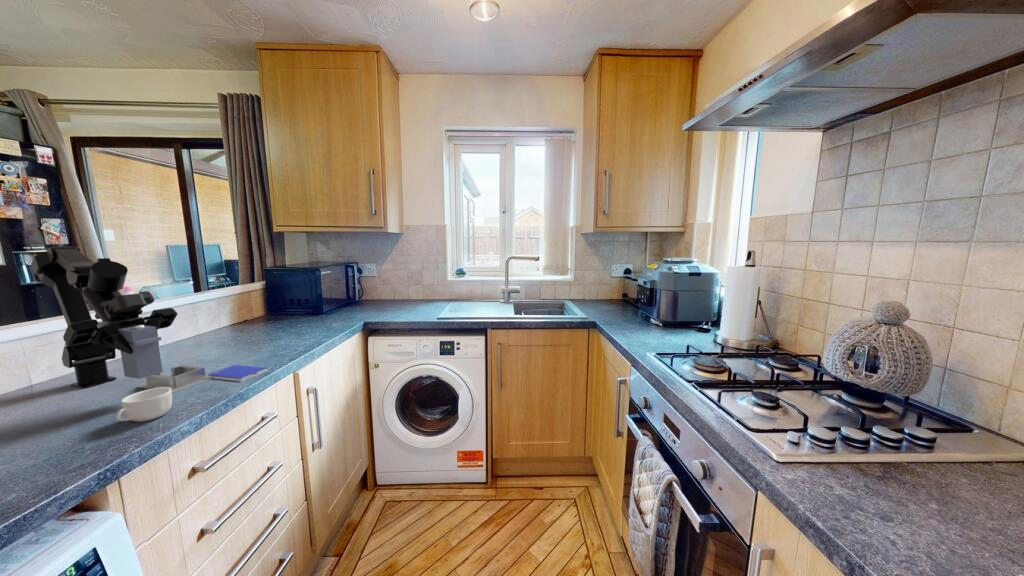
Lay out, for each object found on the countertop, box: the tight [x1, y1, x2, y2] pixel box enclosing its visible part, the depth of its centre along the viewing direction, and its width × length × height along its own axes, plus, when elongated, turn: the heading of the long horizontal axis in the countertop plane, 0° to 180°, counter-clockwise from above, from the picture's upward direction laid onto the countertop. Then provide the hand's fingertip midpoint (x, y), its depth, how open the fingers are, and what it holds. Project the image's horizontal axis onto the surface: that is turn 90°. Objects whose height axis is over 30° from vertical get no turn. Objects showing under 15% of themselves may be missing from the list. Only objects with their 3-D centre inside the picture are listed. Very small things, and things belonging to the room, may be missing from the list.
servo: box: [118, 325, 164, 380], centre depth 83 cm, size 8×4×13 cm, turn 74°
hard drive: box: [208, 364, 269, 382], centre depth 100 cm, size 2×8×12 cm
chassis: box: [137, 364, 214, 394], centre depth 95 cm, size 14×10×3 cm
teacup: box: [116, 387, 173, 423], centre depth 74 cm, size 10×8×5 cm
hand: (144, 349), depth 83 cm, fingers closed on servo, 4 cm apart
